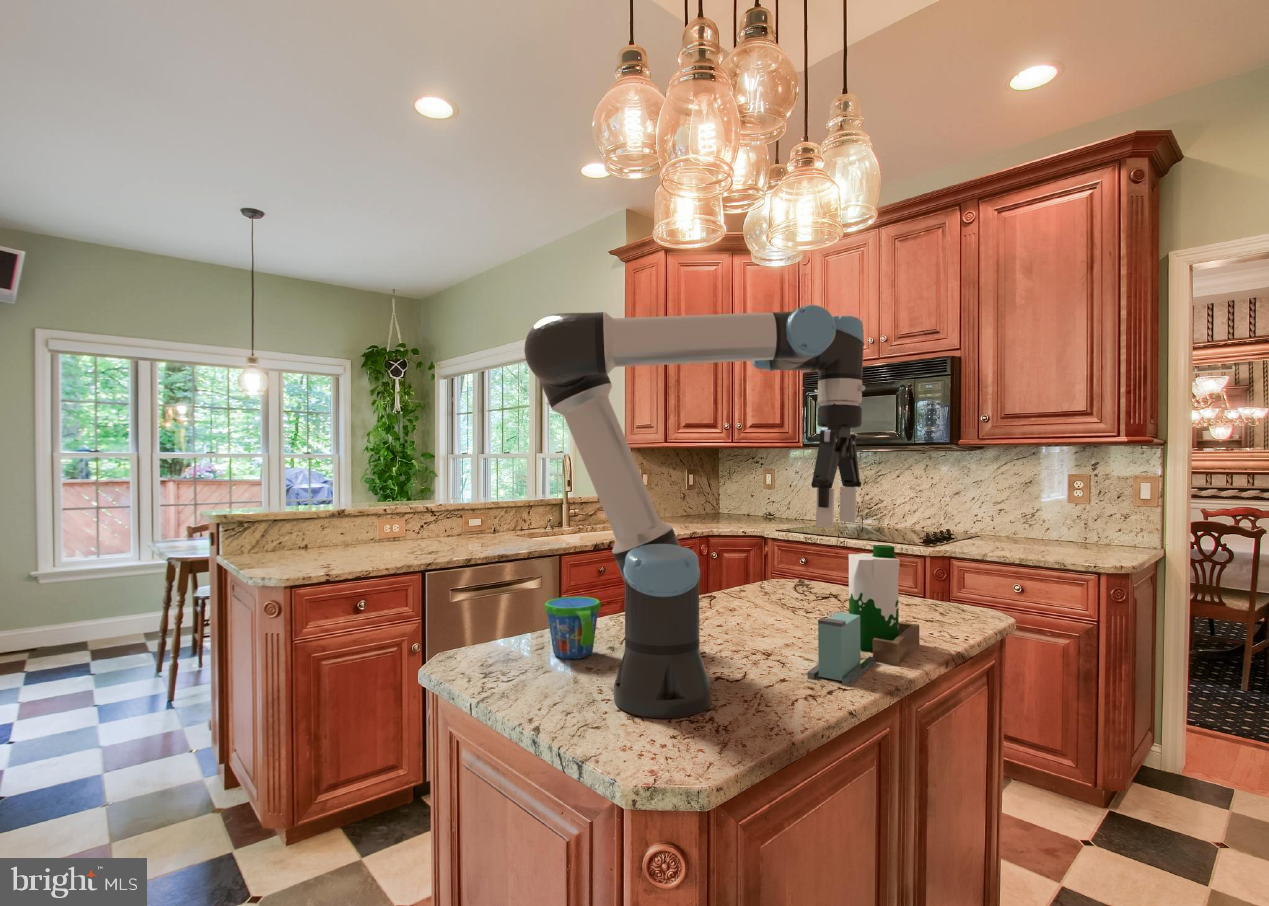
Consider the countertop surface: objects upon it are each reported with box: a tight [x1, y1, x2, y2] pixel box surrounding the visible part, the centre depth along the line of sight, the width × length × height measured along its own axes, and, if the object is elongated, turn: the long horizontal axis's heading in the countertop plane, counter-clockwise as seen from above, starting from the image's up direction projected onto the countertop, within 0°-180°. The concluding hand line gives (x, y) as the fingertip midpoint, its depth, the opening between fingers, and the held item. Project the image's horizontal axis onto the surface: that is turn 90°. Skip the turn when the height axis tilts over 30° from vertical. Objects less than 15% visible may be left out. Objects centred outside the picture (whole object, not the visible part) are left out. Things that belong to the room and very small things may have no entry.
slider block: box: [817, 611, 862, 682], centre depth 111 cm, size 4×10×10 cm, turn 143°
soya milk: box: [848, 544, 901, 652], centre depth 127 cm, size 9×9×20 cm
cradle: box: [872, 621, 920, 666], centre depth 126 cm, size 14×16×4 cm
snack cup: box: [544, 596, 602, 660], centre depth 122 cm, size 16×10×10 cm
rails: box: [806, 655, 877, 687], centre depth 112 cm, size 7×15×1 cm, turn 143°
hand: (836, 524), depth 112 cm, fingers open, 13 cm apart
